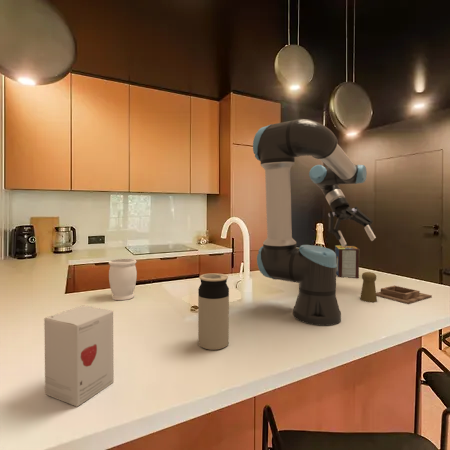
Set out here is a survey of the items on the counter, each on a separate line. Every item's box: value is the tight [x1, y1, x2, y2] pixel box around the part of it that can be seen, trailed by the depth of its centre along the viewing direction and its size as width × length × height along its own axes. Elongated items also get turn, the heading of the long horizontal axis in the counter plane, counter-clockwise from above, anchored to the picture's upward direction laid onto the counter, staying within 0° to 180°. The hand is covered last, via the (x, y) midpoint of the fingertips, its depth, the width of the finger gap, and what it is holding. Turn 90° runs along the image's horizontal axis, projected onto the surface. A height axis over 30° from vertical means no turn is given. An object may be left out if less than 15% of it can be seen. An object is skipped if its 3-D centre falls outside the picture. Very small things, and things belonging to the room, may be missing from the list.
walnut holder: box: [376, 285, 433, 305], centre depth 124 cm, size 18×14×3 cm
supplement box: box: [43, 304, 115, 408], centre depth 58 cm, size 9×9×15 cm
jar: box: [108, 258, 138, 301], centre depth 120 cm, size 11×10×15 cm
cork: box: [359, 271, 378, 303], centre depth 118 cm, size 6×6×11 cm
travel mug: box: [197, 272, 230, 351], centre depth 78 cm, size 8×8×18 cm
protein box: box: [334, 245, 360, 279], centre depth 165 cm, size 10×15×16 cm
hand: (359, 242), depth 124 cm, fingers open, 13 cm apart
